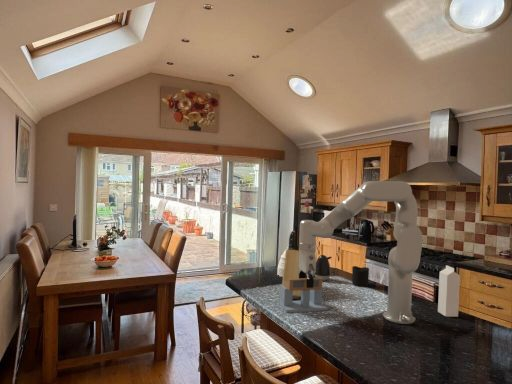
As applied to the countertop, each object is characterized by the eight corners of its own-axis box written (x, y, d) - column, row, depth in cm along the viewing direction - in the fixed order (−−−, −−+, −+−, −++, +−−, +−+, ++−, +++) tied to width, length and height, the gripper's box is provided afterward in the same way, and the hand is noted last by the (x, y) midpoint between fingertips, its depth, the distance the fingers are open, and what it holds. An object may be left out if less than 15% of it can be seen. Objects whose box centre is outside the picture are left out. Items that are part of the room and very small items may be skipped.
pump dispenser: (332, 282, 200) (333, 256, 199) (315, 281, 200) (316, 256, 200) (328, 277, 210) (329, 253, 210) (312, 277, 210) (313, 252, 210)
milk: (449, 312, 157) (452, 265, 157) (458, 317, 151) (460, 268, 151) (437, 311, 157) (439, 264, 157) (445, 316, 151) (447, 268, 150)
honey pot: (299, 277, 207) (300, 248, 207) (278, 277, 206) (279, 248, 206) (295, 272, 220) (296, 245, 220) (275, 272, 219) (277, 244, 219)
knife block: (305, 282, 197) (307, 230, 196) (303, 302, 162) (306, 239, 162) (286, 281, 199) (288, 229, 198) (280, 300, 164) (282, 237, 164)
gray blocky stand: (327, 310, 153) (328, 290, 153) (286, 312, 148) (287, 292, 148) (317, 301, 164) (318, 283, 164) (278, 303, 159) (279, 285, 159)
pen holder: (359, 281, 203) (359, 265, 203) (371, 286, 195) (372, 269, 195) (348, 283, 198) (348, 266, 198) (360, 288, 190) (361, 270, 190)
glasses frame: (321, 289, 155) (322, 278, 155) (289, 290, 151) (289, 279, 151) (313, 283, 164) (314, 273, 163) (282, 284, 160) (283, 274, 160)
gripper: (323, 250, 146) (321, 290, 146) (307, 243, 163) (306, 279, 163) (307, 250, 144) (305, 290, 144) (292, 243, 161) (291, 279, 161)
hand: (305, 284), depth 154 cm, fingers open, 8 cm apart
